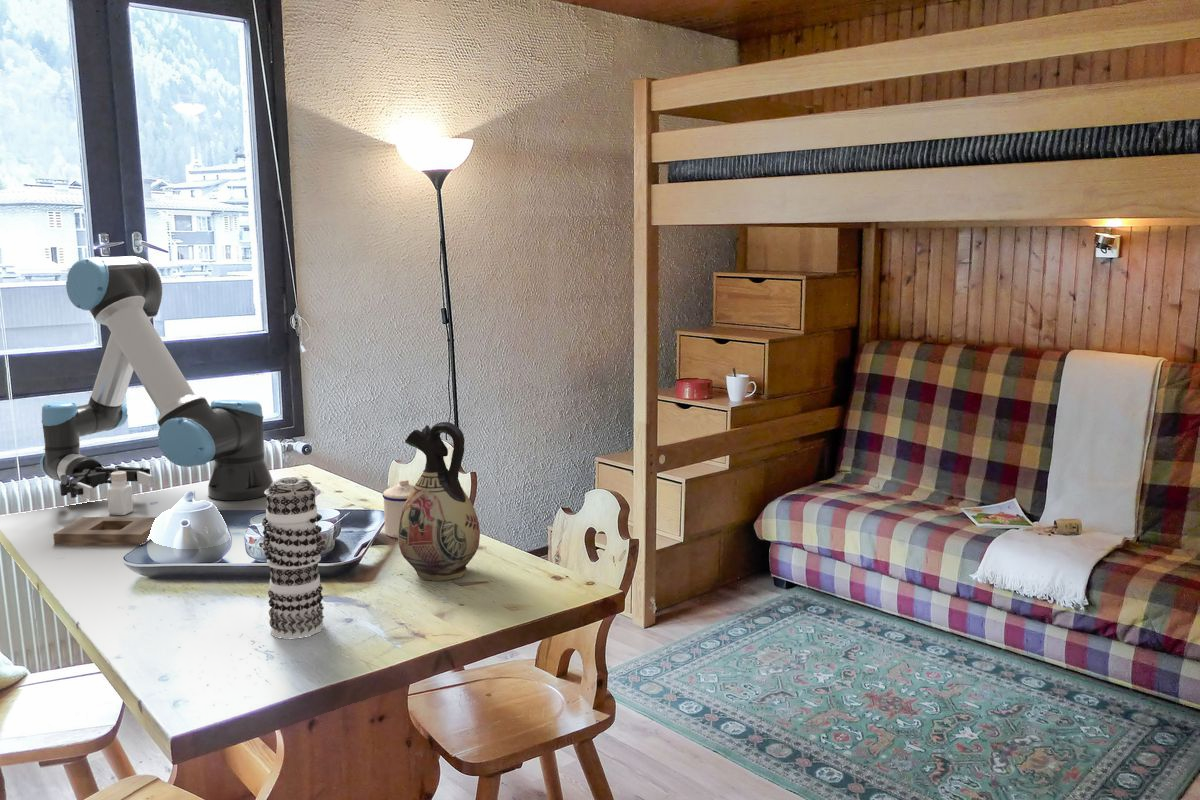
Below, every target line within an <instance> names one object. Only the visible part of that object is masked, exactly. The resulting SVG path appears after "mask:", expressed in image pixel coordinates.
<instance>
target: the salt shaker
mask: <svg viewBox="0 0 1200 800" xmlns="http://www.w3.org/2000/svg"><path fill="white" fill-rule="evenodd" d="M110 480H111V482H112V483H111V486H110V487H108V488H107V490H106V491H107V503H108V513H109V515H111V516H125V515H126V516H127V514H128V515H129V513H132V512H133V511H134V499H133V487H132V485H130V484H127V482H128V481H126V480H127V476H126V472H125V471H116V472H112V473H111V477H110Z"/></svg>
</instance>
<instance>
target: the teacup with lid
mask: <svg viewBox="0 0 1200 800" xmlns="http://www.w3.org/2000/svg"><path fill="white" fill-rule="evenodd" d="M414 485H415V484H412V483H410V481H409V480H408V479H407V478H403V479H399V482H398V483H397V484H395V485H394V486H392V487H389V488H387V489H385V490H384V491H383V493H382V498H383V510H384V511H383V513H384V515H383V517H384V533H385V535H387V536H388V537H391V538H394V539H395V538H396V539H398V528H399V522H400V517H401V513H402V510H403V507H404V505H405V502H406V500H407V499H408V497H409V495H410V493H411V491H412V489H413V488H414Z"/></svg>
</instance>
